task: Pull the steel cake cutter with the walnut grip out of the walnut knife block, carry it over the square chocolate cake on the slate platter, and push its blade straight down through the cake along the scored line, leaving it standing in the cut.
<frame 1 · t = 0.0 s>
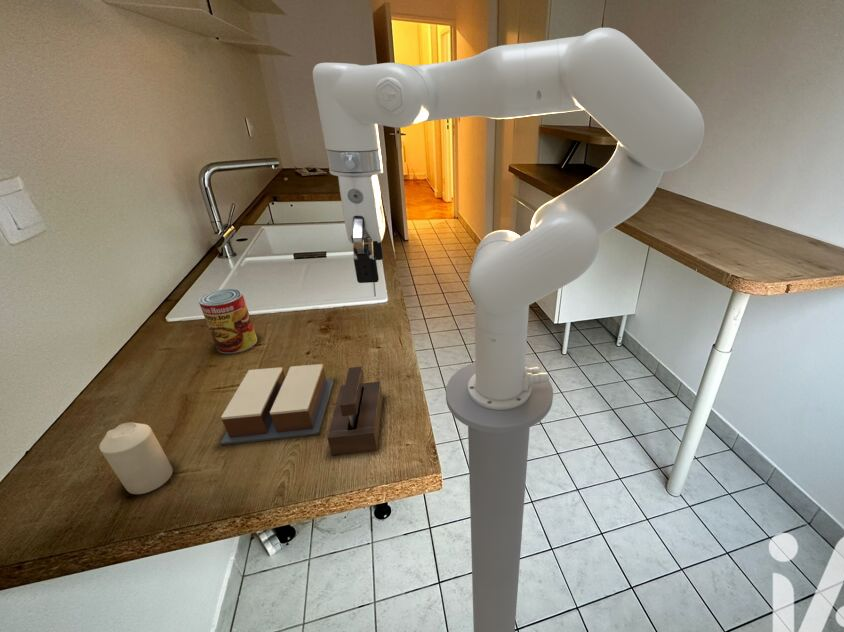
hand: (371, 270, 69), 25 cm above the worktop, tool pointing down, fingers open, 9 cm apart
cake: (283, 410, 75), on the worktop
candle: (151, 480, 61), on the worktop
canned food: (237, 344, 93), on the worktop
cake cutter: (355, 405, 70), in the knife block
knife block: (359, 424, 73), on the worktop
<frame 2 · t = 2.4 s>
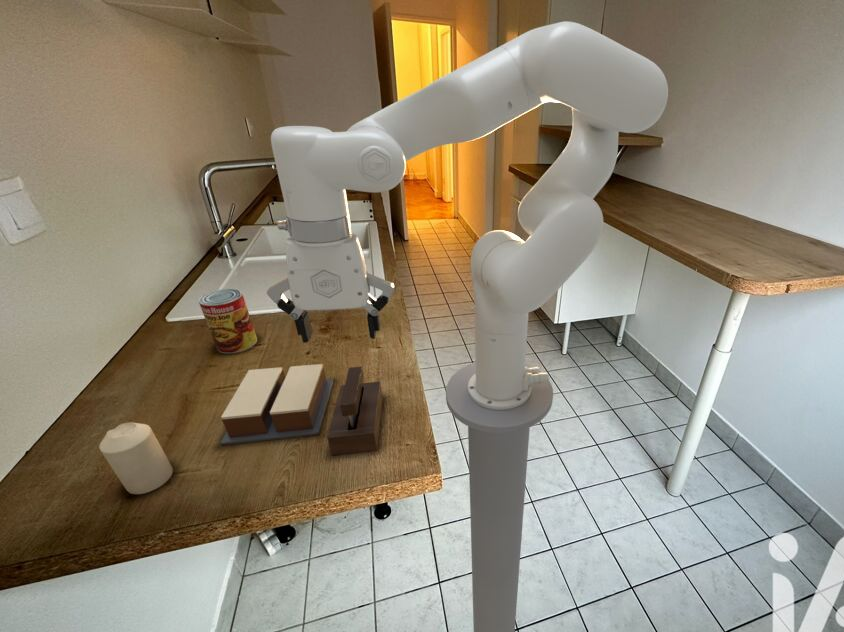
hand: (341, 336, 64), 18 cm above the worktop, tool pointing down, fingers open, 9 cm apart
nothing on the worktop moved.
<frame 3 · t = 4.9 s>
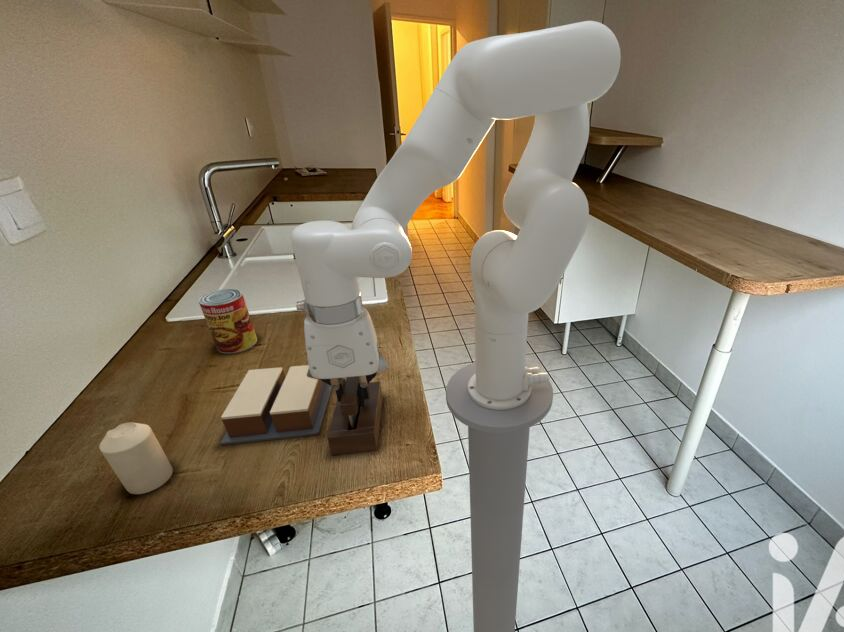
hand: (355, 401, 70), 5 cm above the worktop, tool pointing down, fingers closed on cake cutter, 2 cm apart
cake cutter: (355, 405, 70), in the knife block, touching gripper
everything else where it was.
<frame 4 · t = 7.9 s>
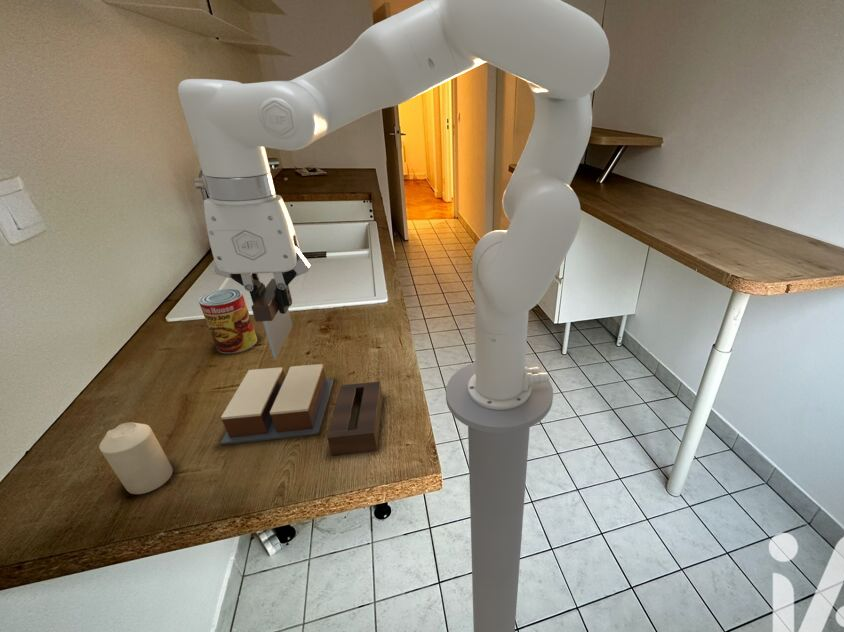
hand: (275, 309, 63), 22 cm above the worktop, tool pointing down, fingers closed on cake cutter
cake cutter: (277, 317, 64), point 20 cm above the worktop, touching gripper
everything else where it was.
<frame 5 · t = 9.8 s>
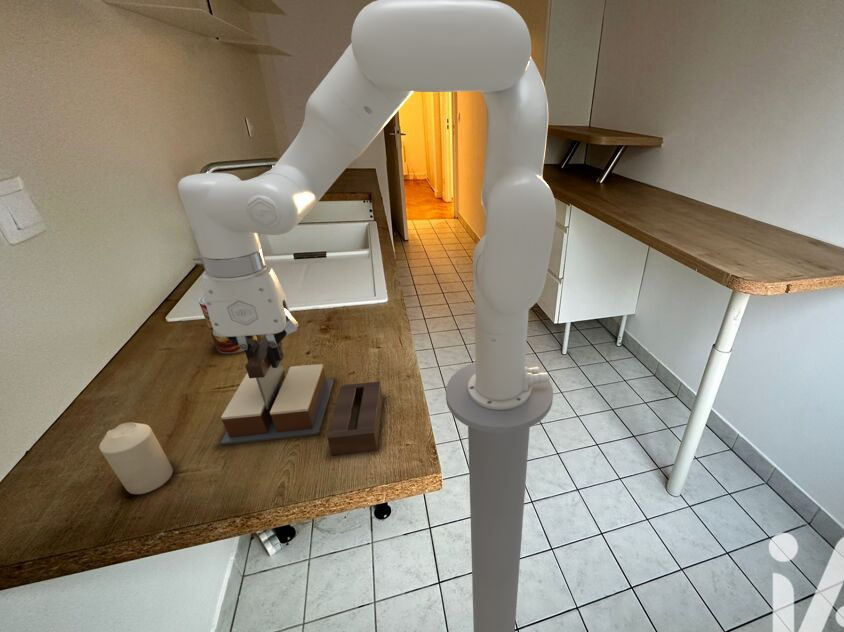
hand: (267, 363, 70), 10 cm above the worktop, tool pointing down, fingers closed on cake cutter
cake cutter: (269, 370, 71), point 9 cm above the worktop, touching gripper
everything else where it was.
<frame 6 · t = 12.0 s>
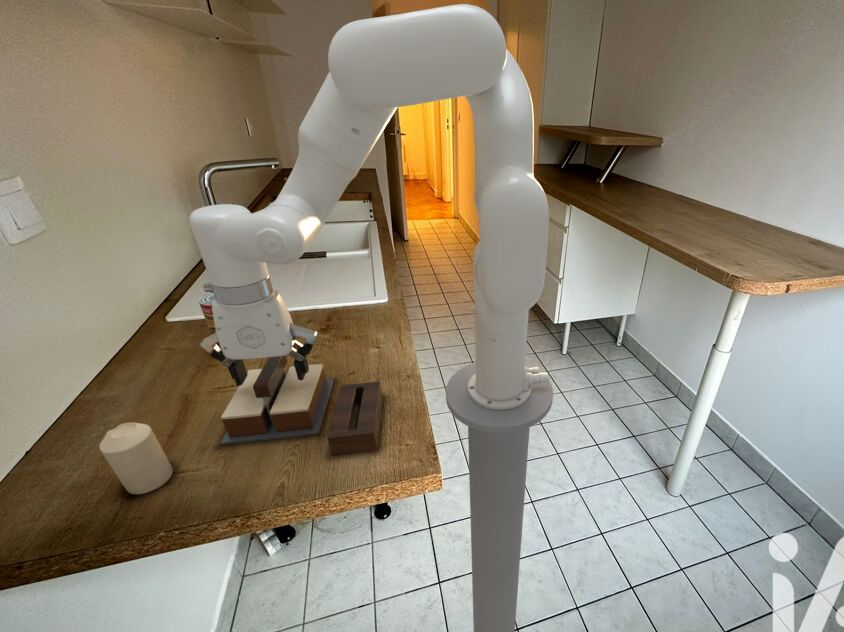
hand: (273, 378, 71), 7 cm above the worktop, tool pointing down, fingers open, 9 cm apart
cake cutter: (276, 388, 73), point 5 cm above the worktop, touching cake
everything else where it was.
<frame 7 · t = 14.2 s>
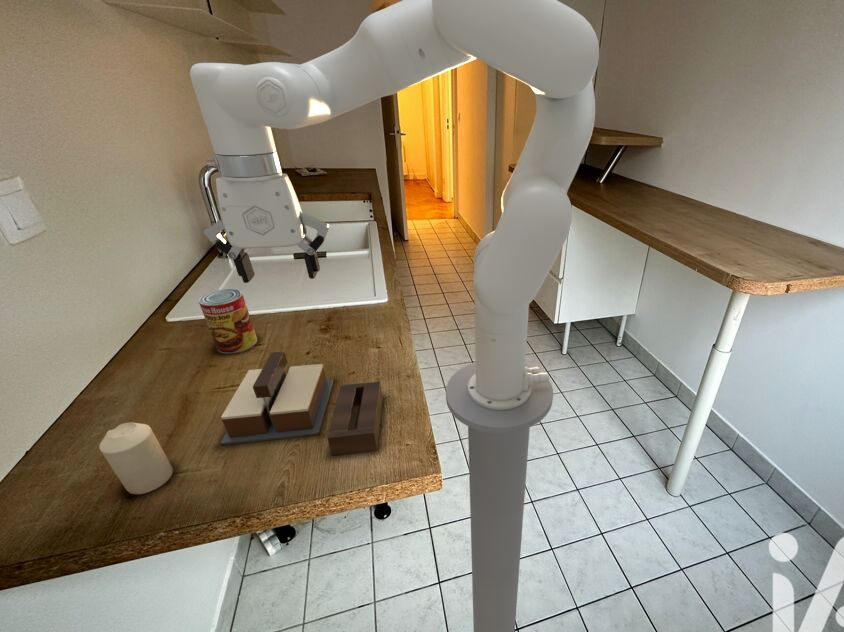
hand: (282, 277, 67), 24 cm above the worktop, tool pointing down, fingers open, 9 cm apart
nothing on the worktop moved.
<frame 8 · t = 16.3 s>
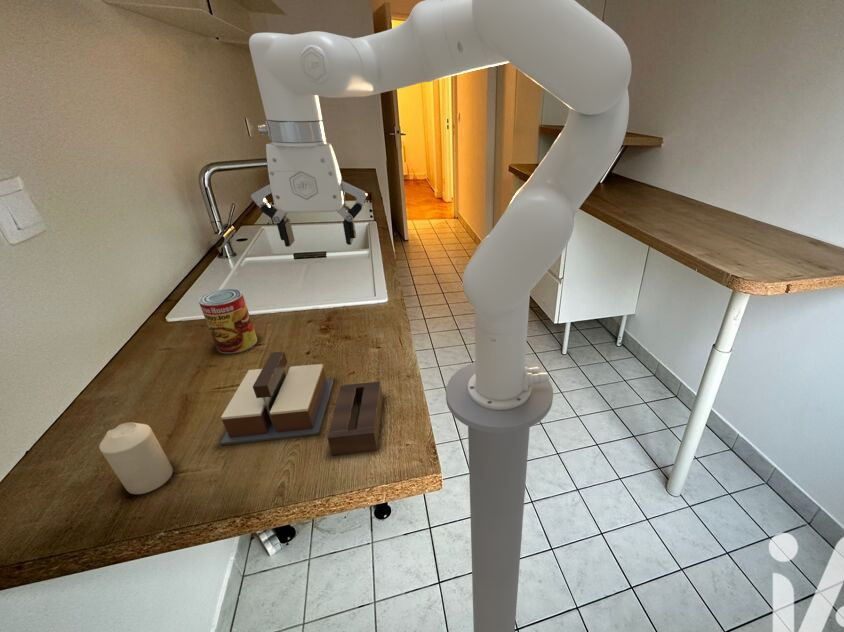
hand: (320, 243, 70), 28 cm above the worktop, tool pointing down, fingers open, 9 cm apart
nothing on the worktop moved.
at the end: cake cutter 0.1 cm off-centre on the cake, point 5.0 cm above the cake's base; cake cutter tilted 0°; the gripper is holding nothing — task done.
